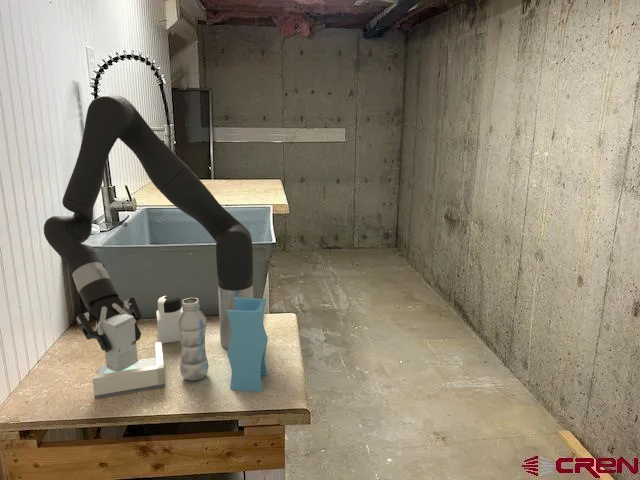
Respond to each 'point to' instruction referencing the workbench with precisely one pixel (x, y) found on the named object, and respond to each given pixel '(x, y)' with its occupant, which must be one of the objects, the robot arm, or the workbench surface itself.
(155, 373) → the corner arena
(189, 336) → the plastic bottle
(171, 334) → the medicine bottle
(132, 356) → the skincare box
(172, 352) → the workbench surface
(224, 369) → the workbench surface
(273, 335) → the workbench surface
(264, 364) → the vase
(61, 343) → the workbench surface
